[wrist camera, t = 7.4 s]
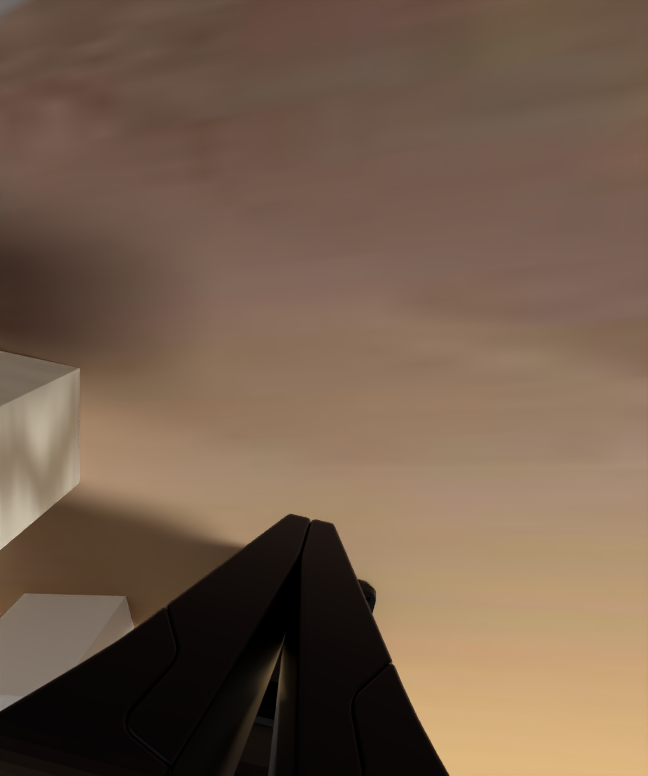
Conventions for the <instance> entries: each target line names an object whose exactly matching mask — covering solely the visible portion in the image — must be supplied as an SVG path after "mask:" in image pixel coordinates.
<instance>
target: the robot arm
mask: <svg viewBox="0 0 648 776" xmlns="http://www.w3.org/2000/svg"><path fill="white" fill-rule="evenodd" d="M364 595H368V596H369V597H365V596H364ZM375 602H376V591H375V589H374V588H373V587H372V586H369V585H366V584H362V583H359V582H358V580H357V577H356V575H355V573H354V570H353V568H352V566H351V563H350V561H349V559H348V556H347V554H346V552H345V549H344V547H343V544H342V542H341V540H340V537H339V535H338V533H337V530H336V528H335V526H334V525H333V524H332V523H329V522H324V521H320V520H312V521H311V523H310V519H309V518H307V517H302V516H298V515H294V514H289V515H287V516H285V517H284V518H283V519H281V520H280V521H279V522H277V523H276V524H275V525H273V526H272V527H271V528H269V529H268V530H267V531H265V532H264V533H263V534H261V535H260V536H259V537H257V538H256V539H255V540H253V541H252V542H251V543H249V544H248V545H246V546H245V547H244V548H242V549H241V550H240V551H238V552H237V553H236V554H234V555H233V556H232V557H230V558H229V559H228V560H226V561H225V562H224V563H222V564H221V565H220V566H218V567H217V568H216V569H214V570H213V571H212V572H210V573H209V574H208V575H206V576H205V577H204V578H202V579H201V580H200V581H198V582H197V583H195V584H194V585H193V586H191V587H190V588H189V589H187V590H186V591H185V592H183V593H182V594H181V595H179V596H178V597H177V598H175V599H174V600H173V601H171V602H170V603H169V604H167V605H166V608H162V609H160V610H159V611H158V612H156V613H155V614H154V615H152V616H151V617H150V618H148V619H147V620H145V621H144V622H143V623H141V624H140V625H138V626H137V627H135V628H134V629H133V630H131V631H130V632H128V633H127V634H126V635H124V636H123V637H121V638H120V639H118V640H117V641H115V642H114V643H112V644H111V645H109V646H107V647H106V648H104V649H103V650H101V651H99V652H98V653H96V654H95V655H93V656H91V657H90V658H88V659H87V660H85V661H83V662H82V663H80V664H78V665H77V666H75V667H73V668H72V669H70V670H68V671H67V672H65V673H63V674H62V675H60V676H58V677H57V678H55V679H53V680H52V681H50V682H48V683H47V684H45V685H43V686H41V687H40V688H38V689H36V690H35V691H33V692H31V693H30V694H28V695H26V696H25V697H23V698H21V699H20V700H18V701H16V702H15V703H13V704H11V705H9V706H8V707H6V708H4V709H3V710H1V711H0V776H450V775H449V774H448V772H447V770H446V768H445V767H444V765H443V763H442V761H441V760H440V758H439V756H438V754H437V752H436V751H435V749H434V747H433V745H432V743H431V741H430V739H429V738H428V736H427V734H426V732H425V730H424V728H423V726H422V725H421V723H420V721H419V719H418V717H417V715H416V713H415V711H414V708H413V706H412V704H411V702H410V700H409V698H408V696H407V693H406V691H405V689H404V687H403V685H402V682H401V680H400V677H399V675H398V673H397V670H396V668H395V666H394V665H393V664H392V659H391V657H390V654H389V652H388V650H387V647H386V645H385V643H384V640H383V638H382V636H381V633H380V631H379V629H378V626H377V624H376V622H375V619H374V617H373V615H372V613H373V609H374V605H375Z"/></svg>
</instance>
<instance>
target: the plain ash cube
mask: <svg viewBox="0 0 648 776" xmlns="http://www.w3.org/2000/svg"><path fill="white" fill-rule="evenodd" d="M79 459H80V368H77V367H73V366H68V365H63V364H59V363H54V362H49V361H45V360H40V359H36V358H31V357H26V356H22V355H17V354H12V353H8V352H3V351H0V550H1V549H2V548H3V547H4V546H6V545H7V544H8V543H9V542H10V541H11V540H13V539H14V538H15V537H16V536H17V535H18V534H20V533H21V532H22V531H23V530H24V529H26V528H27V527H28V526H29V525H30V524H31V523H33V522H34V521H35V520H36V519H37V518H39V517H40V516H41V515H42V514H43V513H44V512H46V511H47V510H48V509H49V508H50V507H52V506H53V505H54V504H55V503H56V502H57V501H59V500H60V499H61V498H62V497H63V496H65V495H66V494H67V493H68V492H69V491H70V490H72V489H73V488H74V487H75V486H76V485H78V484H79Z"/></svg>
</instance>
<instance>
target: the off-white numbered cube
mask: <svg viewBox="0 0 648 776" xmlns="http://www.w3.org/2000/svg"><path fill="white" fill-rule="evenodd" d="M133 629H134V626H133V622H132V618H131V614H130V610H129V607H128V603H127V599H126V596H102V595H67V594H32V593H24V594H23V595H22V596H21V597H20V598H19V599H18V600H17V601H16V602H15V603H14V604H13V605H12V606H11V607H10V608H9V609H8V611H7V612H6V613H5V614H4V615H3V616H2V617H1V618H0V711H1V710H3V709H4V708H6V707H8V706H9V705H11V704H13V703H15V702H16V701H18V700H20V699H21V698H23V697H25V696H26V695H28V694H30V693H31V692H33V691H35V690H36V689H38V688H40V687H41V686H43V685H45V684H47V683H48V682H50V681H52V680H53V679H55V678H57V677H58V676H60V675H62V674H63V673H65V672H67V671H68V670H70V669H72V668H73V667H75V666H77V665H78V664H80V663H82V662H83V661H85V660H87V659H88V658H90V657H91V656H93V655H95V654H96V653H98V652H99V651H101V650H103V649H104V648H106V647H107V646H109V645H111V644H112V643H114V642H115V641H117V640H118V639H120V638H121V637H123V636H124V635H126V634H127V633H128V632H130V631H131V630H133Z"/></svg>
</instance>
